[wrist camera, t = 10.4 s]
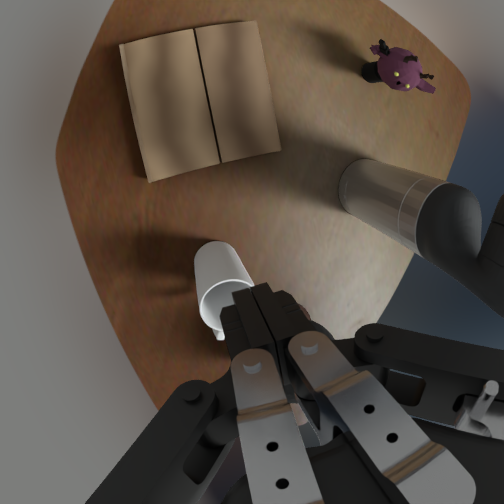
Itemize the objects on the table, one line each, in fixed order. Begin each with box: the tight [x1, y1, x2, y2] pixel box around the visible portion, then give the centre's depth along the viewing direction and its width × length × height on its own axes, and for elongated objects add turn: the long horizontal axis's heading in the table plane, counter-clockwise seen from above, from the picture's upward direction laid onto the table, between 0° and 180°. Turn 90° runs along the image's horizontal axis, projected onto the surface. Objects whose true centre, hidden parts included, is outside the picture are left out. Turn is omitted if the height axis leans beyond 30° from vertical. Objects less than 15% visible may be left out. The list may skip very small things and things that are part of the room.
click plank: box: [119, 29, 220, 183], centre depth 32 cm, size 9×18×2 cm, turn 10°
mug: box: [194, 241, 254, 340], centre depth 39 cm, size 10×7×12 cm, turn 166°
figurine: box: [362, 39, 436, 94], centre depth 32 cm, size 8×8×12 cm
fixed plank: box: [194, 21, 281, 163], centre depth 34 cm, size 8×18×2 cm, turn 10°
